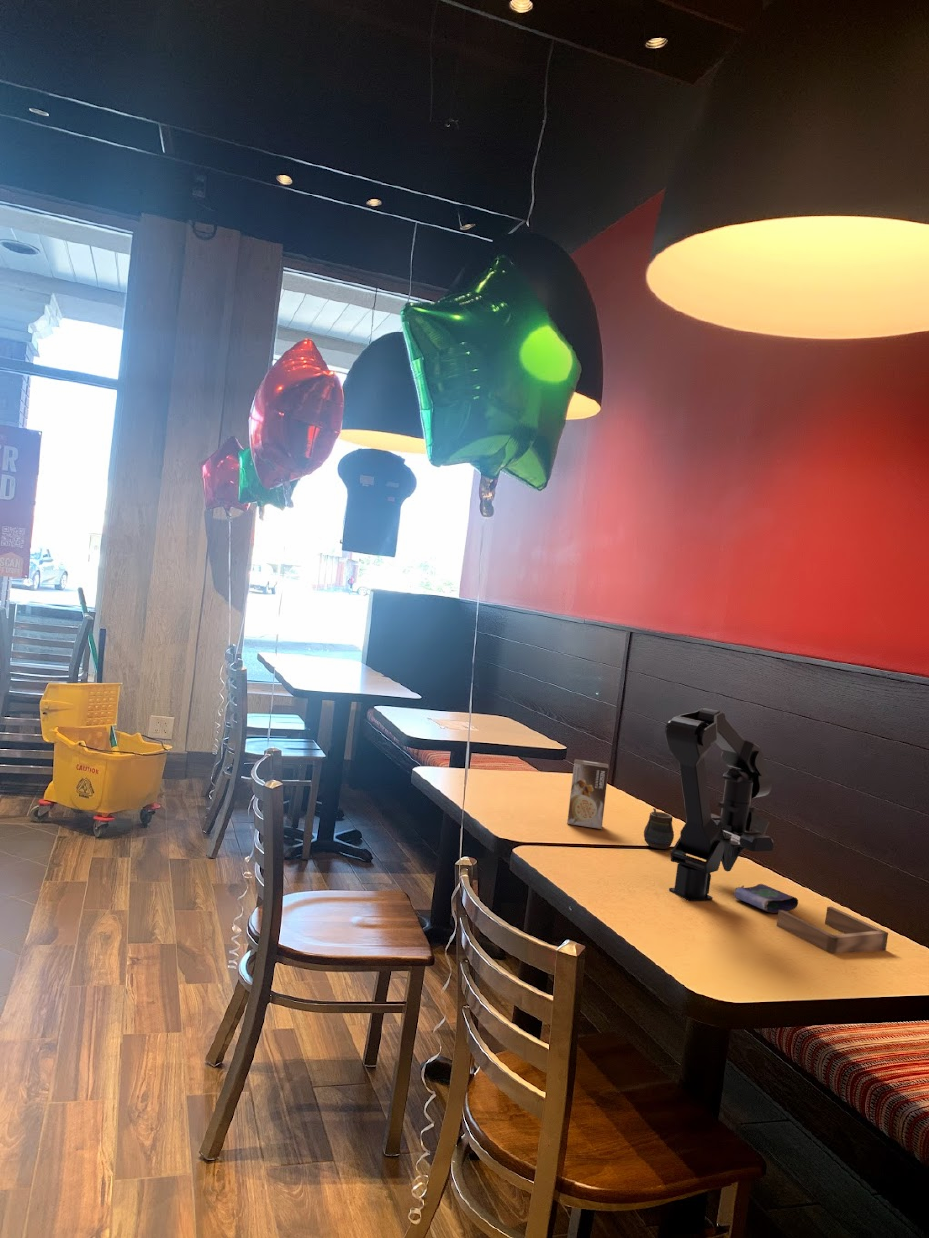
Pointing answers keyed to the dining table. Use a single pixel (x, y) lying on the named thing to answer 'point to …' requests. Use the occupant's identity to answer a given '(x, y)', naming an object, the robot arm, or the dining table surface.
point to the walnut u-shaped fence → (854, 939)
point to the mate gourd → (659, 830)
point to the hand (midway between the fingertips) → (727, 870)
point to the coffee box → (588, 794)
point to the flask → (766, 898)
